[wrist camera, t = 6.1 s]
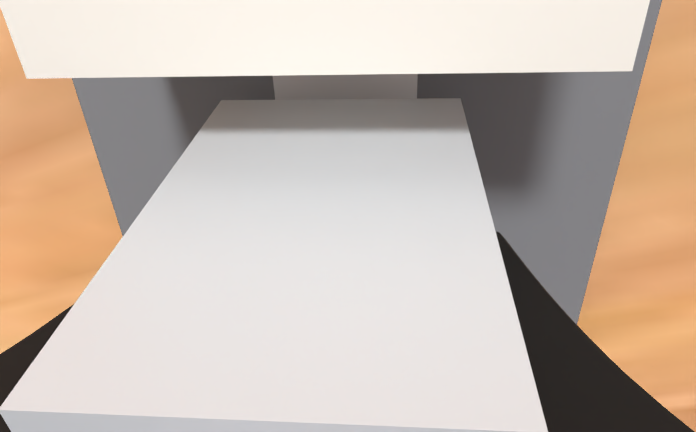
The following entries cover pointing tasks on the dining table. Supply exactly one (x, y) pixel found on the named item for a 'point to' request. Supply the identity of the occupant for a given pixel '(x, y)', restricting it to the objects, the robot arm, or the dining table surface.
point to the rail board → (473, 88)
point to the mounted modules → (321, 37)
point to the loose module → (298, 287)
